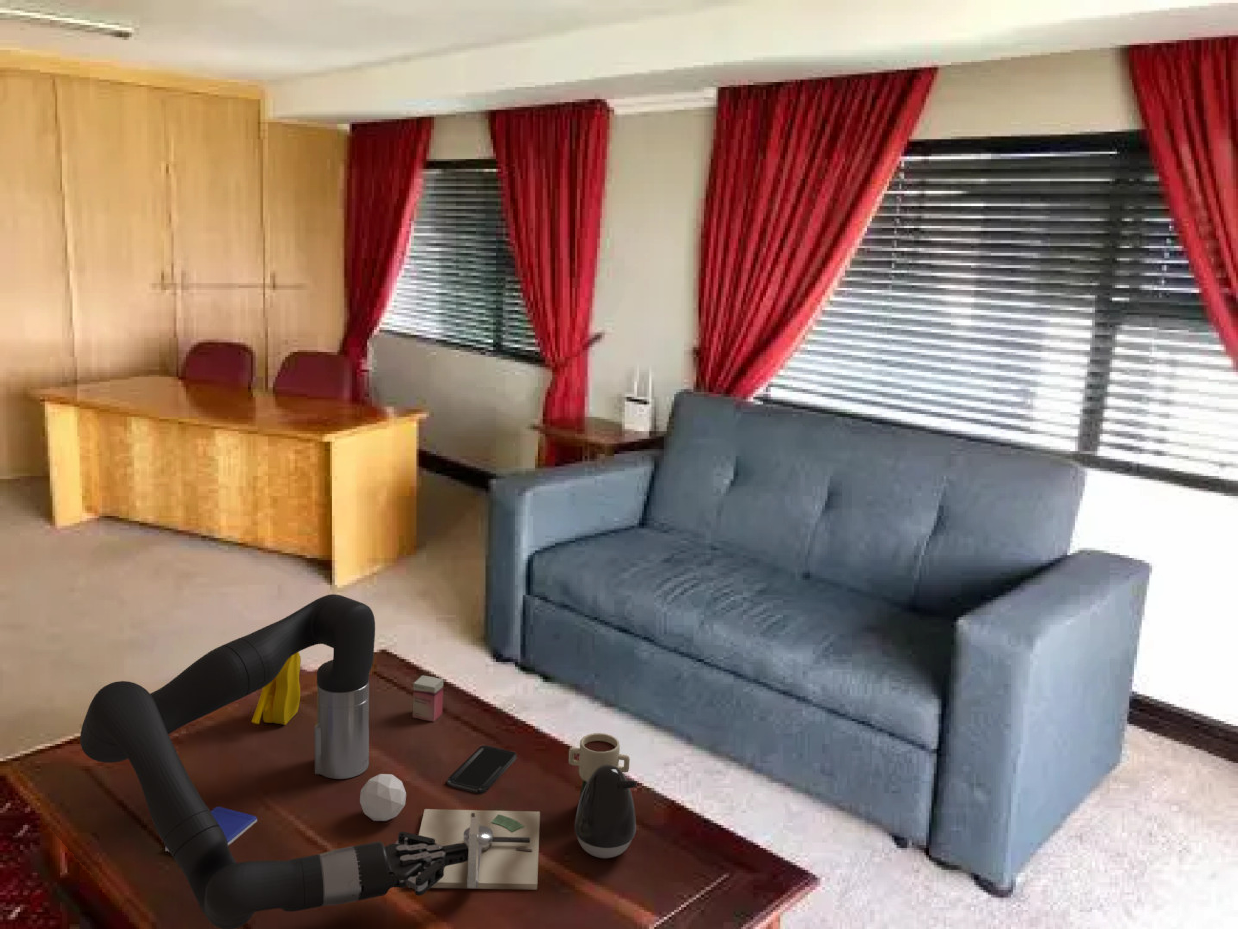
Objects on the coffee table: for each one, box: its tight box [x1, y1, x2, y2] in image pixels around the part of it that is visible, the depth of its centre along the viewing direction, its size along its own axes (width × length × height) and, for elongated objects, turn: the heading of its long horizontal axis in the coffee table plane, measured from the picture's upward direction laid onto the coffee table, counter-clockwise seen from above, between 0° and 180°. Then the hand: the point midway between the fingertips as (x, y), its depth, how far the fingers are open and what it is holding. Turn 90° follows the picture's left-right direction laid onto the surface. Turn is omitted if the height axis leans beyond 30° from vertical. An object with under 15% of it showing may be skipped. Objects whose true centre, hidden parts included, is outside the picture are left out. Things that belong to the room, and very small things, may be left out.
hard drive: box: [164, 806, 258, 853], centre depth 169 cm, size 2×8×12 cm
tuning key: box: [463, 817, 530, 889], centre depth 162 cm, size 16×11×11 cm
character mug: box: [568, 732, 631, 802], centre depth 181 cm, size 11×7×13 cm, turn 81°
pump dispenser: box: [574, 765, 638, 859], centre depth 170 cm, size 10×10×15 cm
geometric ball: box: [359, 773, 407, 822], centre depth 176 cm, size 8×8×8 cm
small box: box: [412, 674, 444, 723], centre depth 212 cm, size 5×4×8 cm
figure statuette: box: [250, 651, 302, 726], centre depth 205 cm, size 18×8×22 cm, turn 173°
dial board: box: [407, 808, 541, 891], centre depth 169 cm, size 20×20×1 cm
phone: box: [446, 744, 517, 795], centre depth 193 cm, size 8×1×15 cm
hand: (467, 851), depth 156 cm, fingers closed
